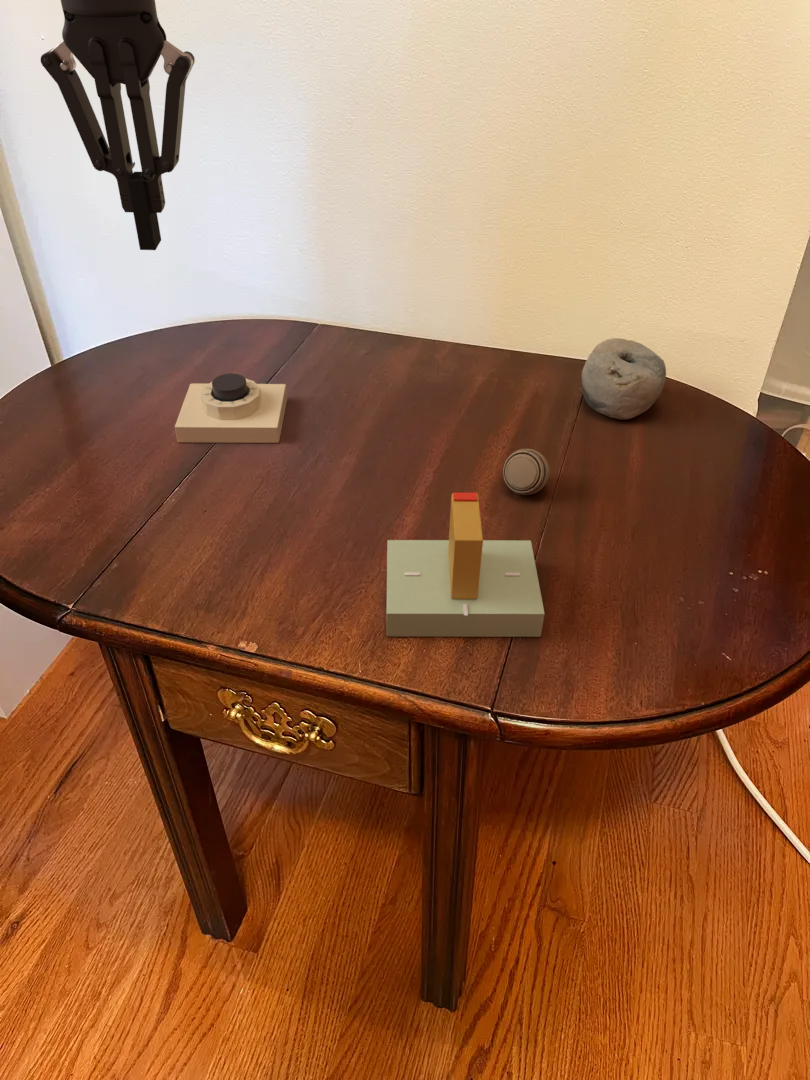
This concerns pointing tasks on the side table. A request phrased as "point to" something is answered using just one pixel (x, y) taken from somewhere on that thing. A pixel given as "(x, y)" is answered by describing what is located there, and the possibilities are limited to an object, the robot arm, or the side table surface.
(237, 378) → the bell button
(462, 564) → the lock knob
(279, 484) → the side table surface
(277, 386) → the doorbell
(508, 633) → the plate
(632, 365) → the stone
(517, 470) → the door knob
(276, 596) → the side table surface
